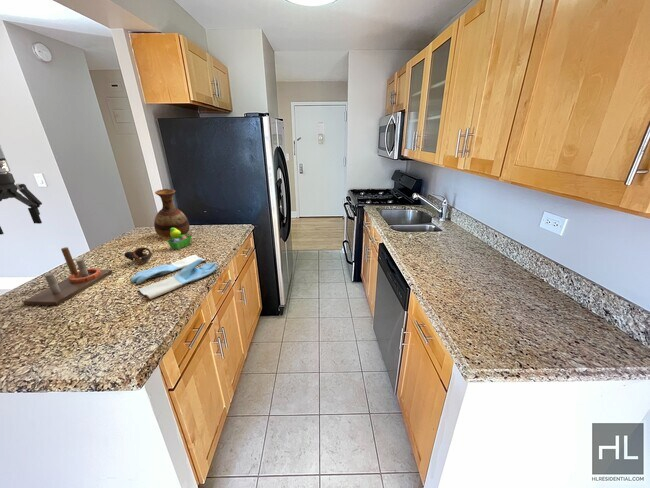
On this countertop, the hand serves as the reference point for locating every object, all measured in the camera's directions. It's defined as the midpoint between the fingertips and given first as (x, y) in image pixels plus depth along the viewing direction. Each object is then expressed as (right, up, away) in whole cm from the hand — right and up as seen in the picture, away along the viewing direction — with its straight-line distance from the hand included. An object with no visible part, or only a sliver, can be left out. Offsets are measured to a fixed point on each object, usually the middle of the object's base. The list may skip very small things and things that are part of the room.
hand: (19, 228), depth 102 cm
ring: (+14, -21, +13) cm, 28 cm away
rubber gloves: (+52, -21, +18) cm, 58 cm away
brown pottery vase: (+21, 0, +68) cm, 72 cm away
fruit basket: (+35, -8, +50) cm, 62 cm away
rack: (+13, -24, +8) cm, 29 cm away
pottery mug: (+26, -15, +31) cm, 43 cm away
